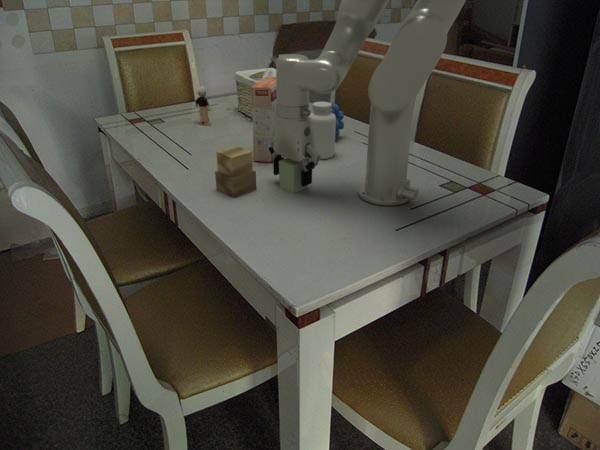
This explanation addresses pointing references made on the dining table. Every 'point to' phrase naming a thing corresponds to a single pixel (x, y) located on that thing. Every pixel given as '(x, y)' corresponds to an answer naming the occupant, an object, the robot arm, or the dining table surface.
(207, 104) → the grandmother figurine
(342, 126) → the grapes
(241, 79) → the storage basket
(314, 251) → the dining table surface
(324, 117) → the pill bottle
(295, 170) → the sage block
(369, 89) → the robot arm
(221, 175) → the tower base
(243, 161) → the tower mid
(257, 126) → the cracker box
